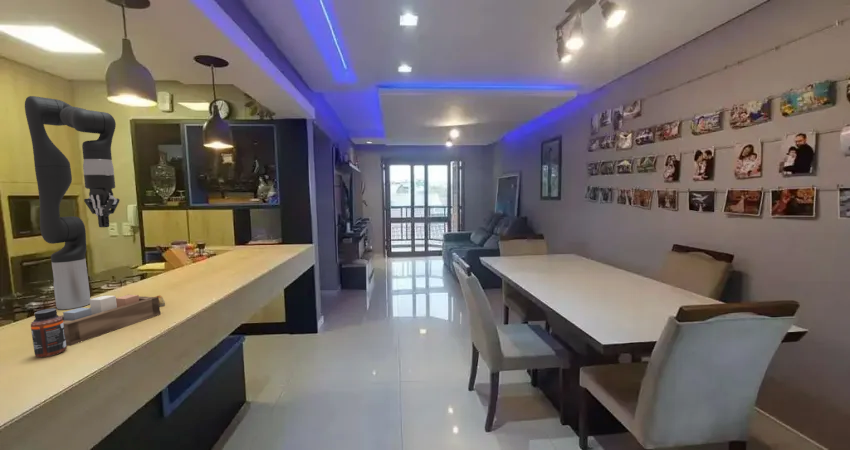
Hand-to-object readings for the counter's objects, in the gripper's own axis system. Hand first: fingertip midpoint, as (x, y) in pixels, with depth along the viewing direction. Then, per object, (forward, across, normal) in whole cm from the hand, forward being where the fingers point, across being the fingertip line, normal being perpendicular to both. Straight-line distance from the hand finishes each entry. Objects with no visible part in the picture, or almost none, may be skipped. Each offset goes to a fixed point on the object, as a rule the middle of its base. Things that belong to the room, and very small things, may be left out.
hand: (104, 227), depth 126 cm
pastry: (+30, +4, +10) cm, 32 cm away
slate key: (+27, +10, -16) cm, 33 cm away
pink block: (+27, +10, -2) cm, 29 cm away
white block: (+26, +10, -9) cm, 29 cm away
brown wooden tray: (+30, +10, -9) cm, 32 cm away
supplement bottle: (+30, +17, -27) cm, 43 cm away
